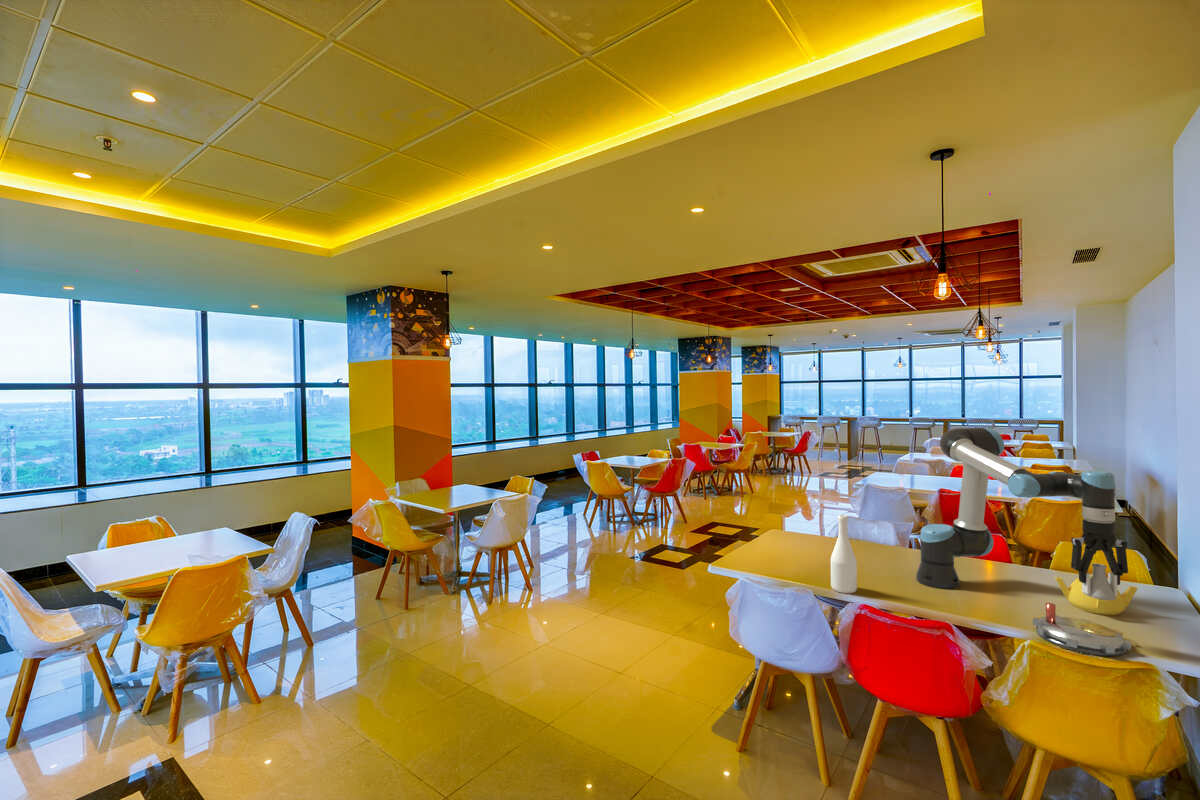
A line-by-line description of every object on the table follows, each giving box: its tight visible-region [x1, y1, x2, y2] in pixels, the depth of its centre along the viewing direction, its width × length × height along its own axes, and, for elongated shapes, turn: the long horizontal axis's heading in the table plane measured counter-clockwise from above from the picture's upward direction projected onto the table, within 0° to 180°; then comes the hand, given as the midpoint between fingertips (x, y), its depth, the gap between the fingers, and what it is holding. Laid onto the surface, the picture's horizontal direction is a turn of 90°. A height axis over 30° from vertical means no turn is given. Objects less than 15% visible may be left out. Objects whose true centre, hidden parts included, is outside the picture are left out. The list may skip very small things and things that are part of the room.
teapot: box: [1054, 572, 1138, 616], centre depth 190 cm, size 17×17×12 cm
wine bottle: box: [830, 514, 858, 594], centre depth 211 cm, size 10×10×30 cm
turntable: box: [1032, 602, 1132, 653], centre depth 166 cm, size 23×23×8 cm
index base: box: [1036, 626, 1138, 658], centre depth 165 cm, size 24×21×1 cm
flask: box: [1083, 563, 1117, 600], centre depth 164 cm, size 7×7×10 cm
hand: (1099, 593), depth 164 cm, fingers closed on flask, 6 cm apart
